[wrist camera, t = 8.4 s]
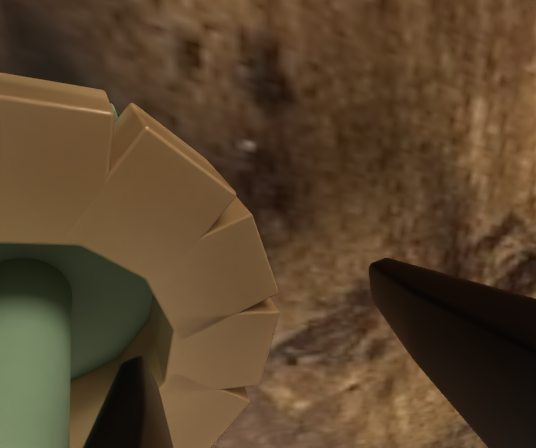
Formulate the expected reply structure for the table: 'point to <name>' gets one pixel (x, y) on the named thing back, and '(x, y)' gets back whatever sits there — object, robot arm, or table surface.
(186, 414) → the hoop
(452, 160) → the table surface
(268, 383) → the table surface
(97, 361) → the stand
